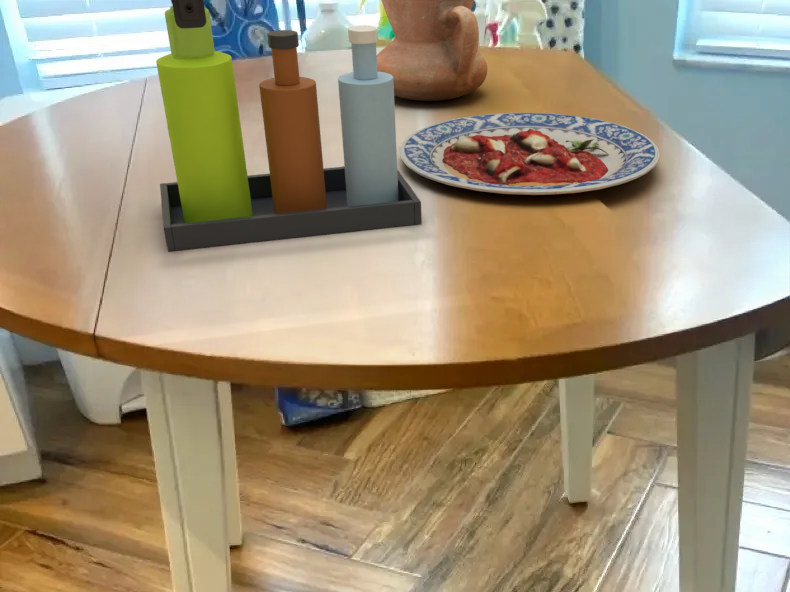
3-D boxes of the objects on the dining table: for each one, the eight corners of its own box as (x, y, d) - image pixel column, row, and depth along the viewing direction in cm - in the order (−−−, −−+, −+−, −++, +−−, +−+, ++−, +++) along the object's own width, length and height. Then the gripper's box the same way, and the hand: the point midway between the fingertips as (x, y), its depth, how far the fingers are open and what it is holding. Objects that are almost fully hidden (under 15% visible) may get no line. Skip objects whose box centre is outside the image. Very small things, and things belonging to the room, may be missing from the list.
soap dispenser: (193, 238, 80) (147, -29, 69) (178, 211, 85) (133, -41, 74) (262, 227, 82) (229, -34, 70) (244, 201, 87) (210, -46, 76)
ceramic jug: (348, 88, 124) (340, -34, 116) (444, 74, 130) (442, -44, 122) (417, 121, 111) (413, -14, 103) (520, 103, 118) (523, -25, 110)
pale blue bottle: (352, 217, 84) (339, 35, 75) (343, 199, 87) (329, 24, 79) (404, 211, 85) (396, 31, 76) (392, 195, 88) (384, 21, 80)
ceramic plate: (428, 226, 84) (427, 193, 82) (381, 142, 105) (379, 114, 103) (700, 201, 89) (705, 169, 87) (604, 125, 109) (606, 98, 108)
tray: (169, 260, 78) (163, 227, 77) (165, 213, 87) (159, 183, 85) (422, 232, 83) (421, 201, 81) (393, 191, 92) (392, 161, 90)
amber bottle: (278, 225, 82) (256, 40, 74) (271, 207, 86) (250, 29, 78) (331, 219, 83) (315, 36, 75) (322, 202, 87) (307, 25, 79)
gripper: (93, -242, 69) (137, 3, 79) (86, -250, 58) (139, 38, 67) (199, -241, 71) (230, -1, 80) (213, -249, 60) (247, 31, 69)
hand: (188, 16), depth 74 cm, fingers open, 8 cm apart
